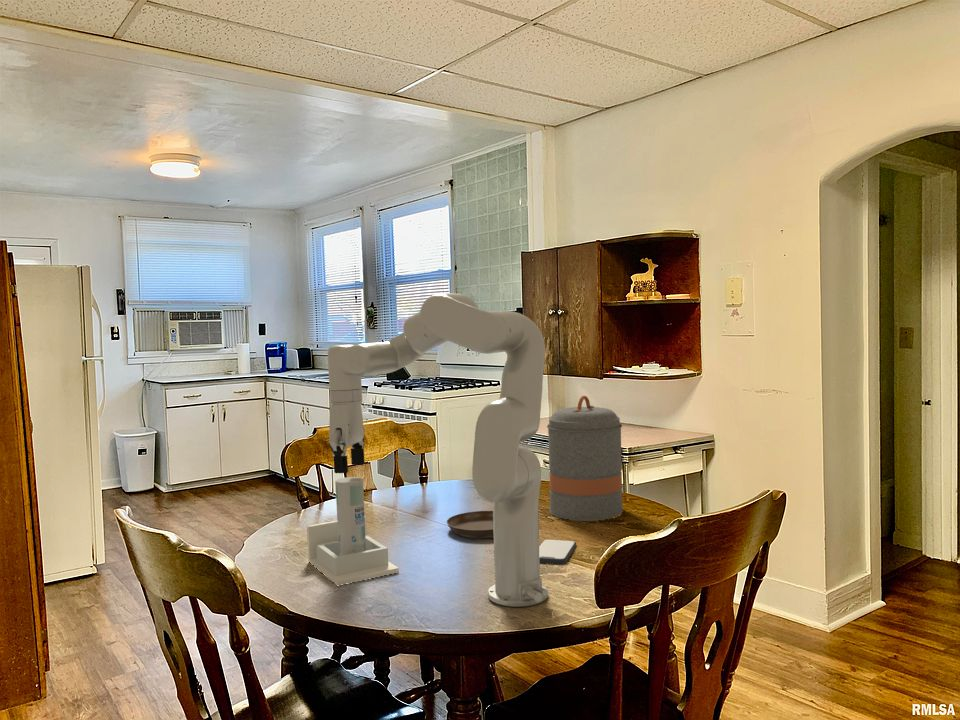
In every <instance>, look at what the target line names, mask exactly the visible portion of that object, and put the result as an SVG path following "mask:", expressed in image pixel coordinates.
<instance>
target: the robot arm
mask: <svg viewBox="0 0 960 720" xmlns="http://www.w3.org/2000/svg"><path fill="white" fill-rule="evenodd" d="M541 331H542V330H541V329H540V328H539V326H538V325H537V324H536V323H535V322H534V321H533V320H532V319H530V318H529V317H528V316H526V315H524V314H522V313H520V312H516V311H510V310H485V309H481V308H478V305H477V303H476V302H475V301H474V299H472V298H471V297H469V296H468V295H466V294H462V293H451V292H450V293H448V292H441V293H440V292H439V293H435V294H432V295H431V296H429V297H427V298H426V299H425V301H424V302H423V303H422V305H421V308H420V311H419V312H417V313H415V314H413V315H411V316H409V317H408V318H407V319H406V320H405V321H404V323H403V332H402V333H400V334H398V335H396V336H394V337H393V338H390V339H388V340H386V341H382V342H381V341H379V342H367V343H366V342H365V343H359V344H337V345H331V346H330V347H328V350H327V368H328V387H329V402H330V403H329V404H330V409H329V423H328V425H329V432H328V434H329V438H328V439H329V445H330V446H331V447H330V448H331V452H332V457H333V470H334V471H333V472H334V474H348V472H349V468H348V467H349V466H348V463H349V462H348V455H346V454H347V451H348V447H351V448H350V458H351V459H350V460H351V466H352V465H353V466H363V465H365V443H364V442H365V428H364V418H363V410H362V403H363V391H362V390H363V389H362V387H363V386H362V377H370V376H371V377H372V376H377V375H383V374H385V375H386V374H390V373H391V374H392V373H394V372H396V371H398V370H400V369H402V368H404V367H407V366H409V365H411V364H413V363H414V362H416V361H417V360H419V359H420V358H421V357H423V356H424V355H425V354H426V353H427V352H429V351H430V350H433V349H435V348H436V347H438V346H441V345H442V344H444V343H446V342H451V343H452V344H455V345H456V346H457V345H458V346H459V347H462V348H465V349H467V350H470V351H473V352H476V353H479V354H488V355H489V354H496V353H503V352H505V353H506V355H507V356H506V361H505V363H504V366H503V369H502V370H503V371H502V374H501V388H500V395H499V398H498V399H497V400H494V401H492V402H489V403H487V404H486V405H485V406H484V407H483V408H482V410H481V411H480V413H479V415H478V417H477V420H476V422H475V423H476V424H475V431H474V442H473V455H472V468H471V470H472V471H471V473H472V474H471V476H472V477H471V478H472V482H473V483H472V484H473V486H474V490H475V491H476V493H477V494H478V496H480V497H481V498H482V499H483V500H484V501H487V502H490V503H493V508H492V511H493V531H494V538H493V555H494V557H493V558H494V560H493V561H494V564H493V565H494V584H493V585H492V586H490V587H489V588H488V590H487V598H488V599H489V600H490V601H491V602H492V603H495V604H497V605H501V606H505V607H510V608H511V607H515V608H516V607H517V608H518V607H520V608H521V607H529V606H530V607H531V606H534V605H537V604H541V603H543V602H544V601H546V599H547V598H548V596H549V590H548V588H547V587H546V586H545V585H543V579H542V578H541V571H540V570H541V569H540V568H541V566H540V565H541V563H540V558H539V545H540V536H539V535H540V525H539V524H540V518H539V513H540V512H539V506H540V504H539V503H540V490H541V482H542V468H541V462H540V460H539V458H538V456H537V454H535V452H533V451H532V450H531V449H530V448H528V447H526V446H521V445H520V443H523V442H525V441H528V440H530V439H532V438H533V437H534V436H535V435H536V434H537V432H538V431H539V428H540V423H541V409H542V397H543V384H544V383H543V381H544V371H545V364H546V344H545V339H544V336H543V333H542V332H541Z"/></svg>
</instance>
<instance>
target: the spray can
mask: <svg viewBox="0 0 960 720" xmlns="http://www.w3.org/2000/svg"><path fill="white" fill-rule="evenodd" d="M334 484H335V499H336V500H335V501H336V502H335V503H336V519H337V520H336V521H337V522H338V540H339V556H342V555H347V554H352V553H357V552H362V551H366V544H365V518H364V516H365V496H364V478H362V477H358V476H350V477H342V478H341V477H340V478H338V479H336V480H335V483H334Z"/></svg>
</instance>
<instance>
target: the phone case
mask: <svg viewBox="0 0 960 720" xmlns="http://www.w3.org/2000/svg"><path fill="white" fill-rule="evenodd" d="M576 547H577V542H576V541H574V540H564V539H563V540H562V539H561V540H560V539H543V540H542V542H541V543H539V558H540V564H550V563H551V564H552V563H553V565H564V564H565V565H566V564H567V562H568V560H569V559H570V557H571V556H572V554H573V552H574V550H575V549H576Z"/></svg>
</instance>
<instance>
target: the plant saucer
mask: <svg viewBox="0 0 960 720" xmlns="http://www.w3.org/2000/svg"><path fill="white" fill-rule="evenodd" d="M446 524H447V526H448V527H449V529H451V531H452V532H454V533H455V534H456V535H458V536H460V537H464V538H468V539H469V538H470V539H492V538H493V539H494V531H493V510H477V511H468V512H463V513H459V514H455V515H453V516H450V517H449V518H447V519H446Z"/></svg>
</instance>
